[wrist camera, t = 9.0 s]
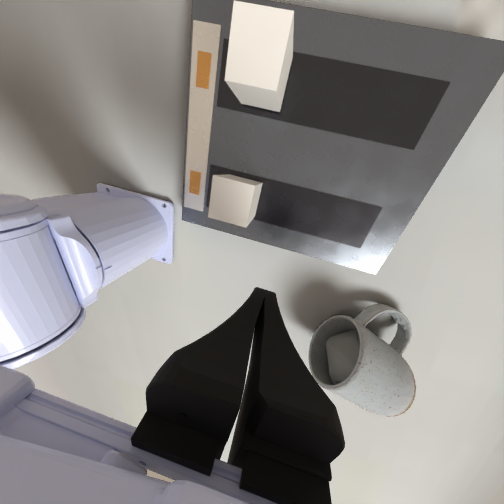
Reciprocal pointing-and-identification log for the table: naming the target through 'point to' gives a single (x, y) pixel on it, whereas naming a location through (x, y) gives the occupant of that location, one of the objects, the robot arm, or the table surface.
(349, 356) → the ceramic mug
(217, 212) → the switch tab
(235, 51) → the switch tab
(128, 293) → the table surface
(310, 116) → the switch panel
